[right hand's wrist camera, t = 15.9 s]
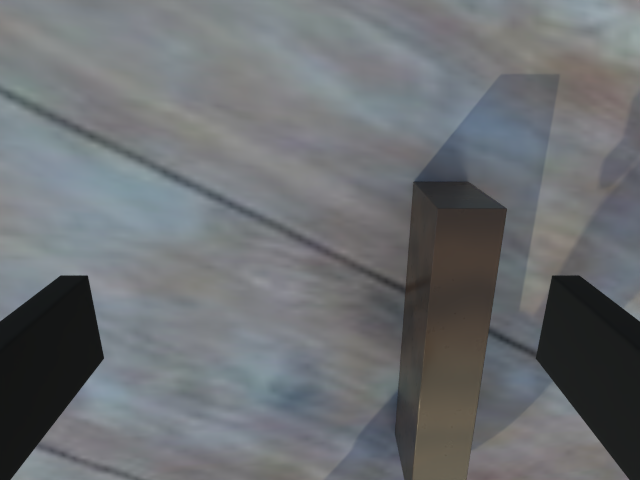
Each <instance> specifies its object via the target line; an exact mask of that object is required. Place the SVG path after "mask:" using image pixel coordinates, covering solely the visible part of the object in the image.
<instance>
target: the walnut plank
mask: <svg viewBox="0 0 640 480" xmlns="http://www.w3.org/2000/svg"><path fill="white" fill-rule="evenodd" d="M506 211H507V208H505V207H504V206H502V205H501V204H499V203H498V202H497V201H495V200H494V199H492V198H491V197H489V196H488V195H486V194H485V193H484V192H482V191H481V190H479V189H478V188H476V187H475V186H473V185H472V184H471V183H469V182H414V184H413V197H412V211H411V224H410V238H409V251H408V265H407V278H406V292H405V305H404V319H403V332H402V346H401V360H400V373H399V387H398V400H397V414H396V427H395V436H396V441H397V446H398V451H399V456H400V460H401V465H402V470H403V475H404V480H466V479H467V472H468V465H469V459H470V452H471V445H472V439H473V432H474V425H475V419H476V412H477V405H478V399H479V392H480V385H481V379H482V372H483V365H484V358H485V352H486V345H487V338H488V332H489V325H490V318H491V312H492V305H493V298H494V292H495V285H496V278H497V272H498V265H499V258H500V251H501V245H502V238H503V231H504V225H505V218H506Z"/></svg>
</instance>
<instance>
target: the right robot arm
mask: <svg viewBox="0 0 640 480" xmlns="http://www.w3.org/2000/svg"><path fill="white" fill-rule="evenodd" d="M103 359H104V356H103V351H102V346H101V340H100V335H99V330H98V325H97V320H96V315H95V310H94V305H93V300H92V295H91V290H90V285H89V279H88V276H60V277H58V278H57V279H56V280H54V281H53V282H52V283H50V284H49V285H48V286H46V287H45V288H44V289H42V290H41V291H40V292H38V293H37V294H36V295H35V296H33V297H32V298H31V299H29V300H28V301H27V302H25V303H24V304H23V305H21V306H20V307H19V308H17V309H16V310H15V311H14V312H12V313H11V314H10V315H8V316H7V317H6V318H4V319H3V320H2V321H0V480H11V478H12V477H13V476H14V474H15V473H16V472H17V471H18V469H19V468H20V467H21V465H22V464H23V463H24V462H25V460H26V459H27V458H28V456H29V455H30V454H31V452H32V451H33V450H34V449H35V447H36V446H37V445H38V443H39V442H40V441H41V439H42V438H43V437H44V436H45V434H46V433H47V432H48V430H49V429H50V428H51V426H52V425H53V424H54V423H55V421H56V420H57V419H58V417H59V416H60V415H61V414H62V412H63V411H64V410H65V408H66V407H67V406H68V404H69V403H70V402H71V401H72V399H73V398H74V397H75V395H76V394H77V393H78V391H79V390H80V389H81V388H82V386H83V385H84V384H85V382H86V381H87V380H88V379H89V377H90V376H91V375H92V373H93V372H94V371H95V369H96V368H97V367H98V366H99V364H100V363H101V362H102V360H103ZM536 359H537V360H538V362H539V363H540V364H541V366H542V367H543V368H544V369H545V371H546V372H547V373H548V375H549V376H550V377H551V379H552V380H553V381H554V382H555V384H556V385H557V386H558V388H559V389H560V390H561V391H562V393H563V394H564V395H565V397H566V398H567V399H568V401H569V402H570V403H571V404H572V406H573V407H574V408H575V410H576V411H577V412H578V414H579V415H580V416H581V417H582V419H583V420H584V421H585V423H586V424H587V425H588V426H589V428H590V429H591V430H592V432H593V433H594V434H595V436H596V437H597V438H598V439H599V441H600V442H601V443H602V445H603V446H604V447H605V449H606V450H607V451H608V452H609V454H610V455H611V456H612V458H613V459H614V460H615V462H616V463H617V464H618V465H619V467H620V468H621V469H622V471H623V472H624V473H625V474H626V476H627V477H628V478H629V480H640V321H638V320H637V319H636V318H634V317H633V316H632V315H630V314H629V313H628V312H626V311H625V310H624V309H623V308H621V307H620V306H619V305H617V304H616V303H615V302H613V301H612V300H611V299H609V298H608V297H607V296H605V295H604V294H603V293H602V292H600V291H599V290H598V289H596V288H595V287H594V286H592V285H591V284H590V283H588V282H587V281H586V280H584V279H583V278H582V277H580V276H552V279H551V285H550V290H549V295H548V300H547V305H546V310H545V315H544V320H543V325H542V330H541V335H540V340H539V346H538V351H537V356H536Z"/></svg>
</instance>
